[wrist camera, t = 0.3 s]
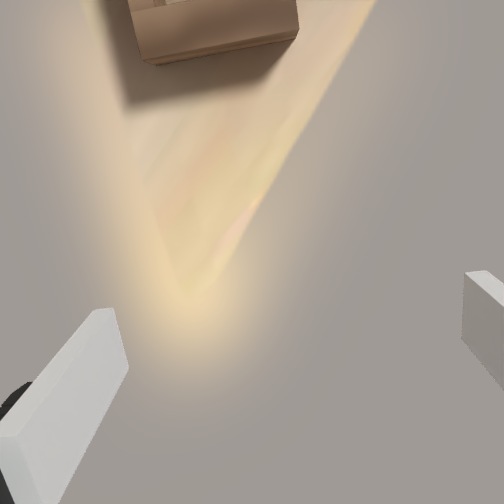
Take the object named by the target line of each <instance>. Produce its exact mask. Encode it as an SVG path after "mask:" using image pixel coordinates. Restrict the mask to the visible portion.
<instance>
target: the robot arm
mask: <svg viewBox="0 0 504 504" xmlns="http://www.w3.org/2000/svg"><path fill="white" fill-rule="evenodd" d="M461 339H462V340H463V341H464V343H465V344H466V345H467V346H468V347H469V349H470V350H471V351H472V352H473V354H474V355H475V356H476V357H477V358H478V360H479V361H480V362H481V363H482V365H483V366H484V367H485V368H486V369H487V371H488V372H489V373H490V374H491V376H492V377H493V378H494V379H495V380H496V382H497V383H498V384H499V385H500V387H501V388H502V389H503V390H504V284H503V283H502V282H501V281H499V280H498V279H496V278H495V277H494V276H493V275H491V274H490V273H489V272H488V271H475V272H466V273H464V290H463V315H462V338H461ZM128 369H129V366H128V362H127V358H126V355H125V351H124V347H123V344H122V339H121V336H120V332H119V328H118V324H117V321H116V317H115V312H114V309H113V308H106V309H95V310H93V312H92V313H91V314H90V315H89V316H88V317H87V319H86V320H85V321H84V322H83V323H82V325H81V326H80V327H79V328H78V329H77V331H76V332H75V333H74V334H73V335H72V336H71V338H70V339H69V340H68V341H67V342H66V344H65V345H64V346H63V347H62V349H61V350H60V351H59V352H58V353H57V354H56V355H55V357H54V358H53V359H52V360H51V362H50V363H49V364H48V365H47V366H46V368H45V369H44V370H43V371H42V372H41V373H40V375H39V376H38V377H37V378H36V379H35V381H34V382H27V383H26V384H24V385H23V386H21V387H20V388H19V389H17V390H16V391H14V392H13V393H12V394H11V395H10V396H9V397H8V398H7V399H6V401H5V402H4V403H3V404H2V407H0V504H58V503H59V501H60V499H61V497H62V496H63V494H64V492H65V490H66V488H67V486H68V484H69V482H70V480H71V478H72V476H73V475H74V472H75V471H76V469H77V467H78V465H79V463H80V461H81V459H82V457H83V455H84V454H85V451H86V450H87V448H88V446H89V444H90V442H91V440H92V438H93V436H94V434H95V432H96V430H97V429H98V427H99V425H100V423H101V421H102V419H103V417H104V415H105V413H106V411H107V410H108V408H109V406H110V404H111V402H112V400H113V398H114V396H115V394H116V392H117V390H118V388H119V387H120V385H121V383H122V381H123V379H124V377H125V375H126V373H127V371H128Z"/></svg>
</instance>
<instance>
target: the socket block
mask: <svg viewBox="0 0 504 504" xmlns="http://www.w3.org/2000/svg"><path fill="white" fill-rule="evenodd" d="M128 4H129V9H130V13H131V17H132V21H133V26H134V30H135V34H136V38H137V43H138V47H139V51H140V55H141V60H143V61H146V62H148V63H151V64H154V65H162V64H167V63H173V62H178V61H183V60H188V59H193V58H198V57H203V56H208V55H213V54H218V53H224V52H229V51H234V50H239V49H244V48H249V47H254V46H259V45H264V44H269V43H275V42H280V41H285V40H290V39H295V38H296V36H297V33H298V31H299V22H298V14H297V6H296V0H188V1H183V2H178V3H174V4H169V5H166V4H165V0H128Z"/></svg>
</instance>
